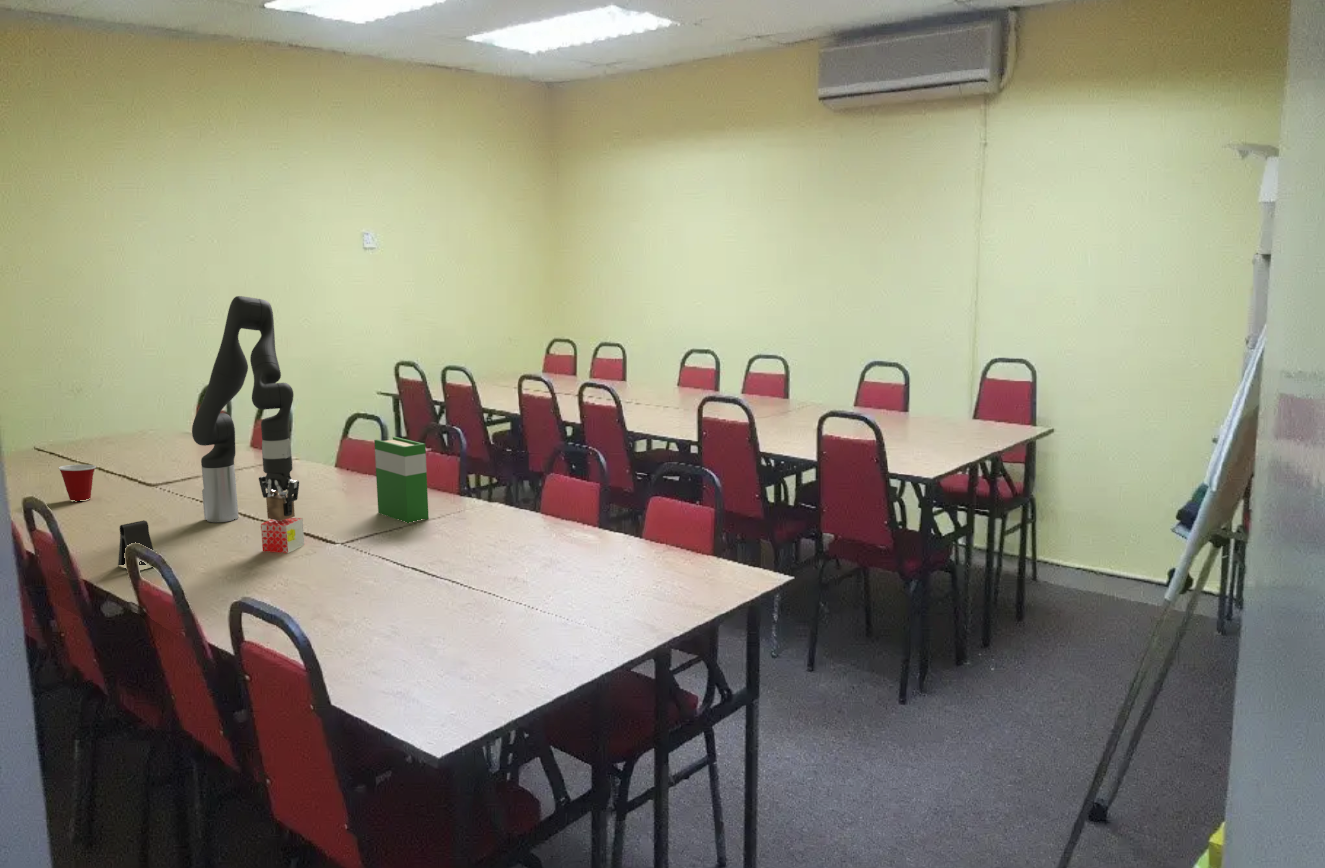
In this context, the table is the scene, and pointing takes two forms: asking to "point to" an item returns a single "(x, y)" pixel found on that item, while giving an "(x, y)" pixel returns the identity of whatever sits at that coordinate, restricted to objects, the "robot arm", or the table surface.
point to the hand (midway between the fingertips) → (281, 514)
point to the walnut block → (277, 508)
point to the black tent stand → (133, 537)
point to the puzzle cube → (282, 535)
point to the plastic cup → (78, 480)
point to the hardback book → (401, 479)
